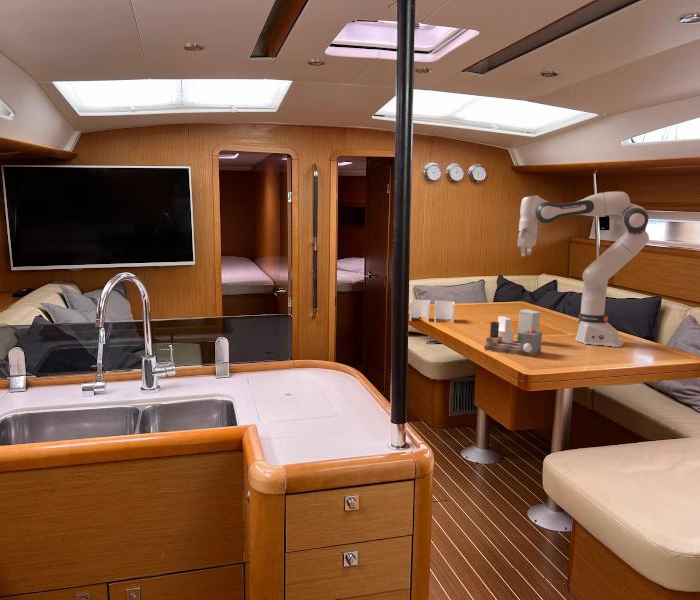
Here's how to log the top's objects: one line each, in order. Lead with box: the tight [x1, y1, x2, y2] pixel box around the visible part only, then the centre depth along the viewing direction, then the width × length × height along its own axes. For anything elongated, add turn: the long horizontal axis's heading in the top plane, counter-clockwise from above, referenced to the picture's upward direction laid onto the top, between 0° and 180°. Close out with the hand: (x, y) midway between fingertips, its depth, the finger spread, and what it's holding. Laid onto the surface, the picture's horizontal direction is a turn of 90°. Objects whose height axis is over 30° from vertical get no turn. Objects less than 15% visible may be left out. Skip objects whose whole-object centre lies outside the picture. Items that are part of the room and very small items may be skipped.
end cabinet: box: [520, 330, 543, 357], centre depth 285 cm, size 6×12×10 cm, turn 149°
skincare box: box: [516, 308, 541, 342], centre depth 309 cm, size 8×7×16 cm
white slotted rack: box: [408, 299, 455, 324], centre depth 360 cm, size 25×11×11 cm, turn 82°
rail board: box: [483, 341, 542, 358], centre depth 290 cm, size 23×12×3 cm, turn 59°
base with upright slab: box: [497, 315, 514, 343], centre depth 308 cm, size 9×9×12 cm
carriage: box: [485, 321, 502, 343], centre depth 293 cm, size 5×8×9 cm, turn 149°
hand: (525, 255), depth 314 cm, fingers open, 8 cm apart
